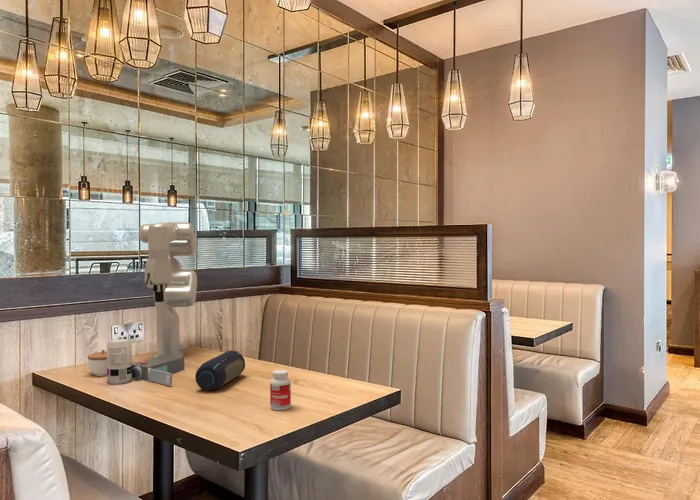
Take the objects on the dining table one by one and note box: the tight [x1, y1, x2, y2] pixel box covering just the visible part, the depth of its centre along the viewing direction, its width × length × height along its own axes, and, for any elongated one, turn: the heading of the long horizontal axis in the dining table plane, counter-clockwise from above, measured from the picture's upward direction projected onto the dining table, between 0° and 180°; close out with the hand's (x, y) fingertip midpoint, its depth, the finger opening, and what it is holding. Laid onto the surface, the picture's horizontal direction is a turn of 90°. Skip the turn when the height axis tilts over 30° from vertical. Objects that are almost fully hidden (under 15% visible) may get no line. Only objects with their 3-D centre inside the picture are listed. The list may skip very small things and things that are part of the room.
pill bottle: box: [269, 369, 292, 411], centre depth 156 cm, size 6×6×11 cm
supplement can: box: [106, 338, 133, 385], centre depth 187 cm, size 8×8×15 cm
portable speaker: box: [195, 350, 246, 392], centre depth 184 cm, size 25×10×10 cm, turn 169°
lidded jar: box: [87, 349, 107, 377], centre depth 198 cm, size 11×11×9 cm
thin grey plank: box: [149, 369, 173, 387], centre depth 183 cm, size 12×1×4 cm, turn 55°
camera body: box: [131, 355, 185, 382], centre depth 197 cm, size 19×12×6 cm, turn 154°
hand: (159, 301), depth 203 cm, fingers closed
